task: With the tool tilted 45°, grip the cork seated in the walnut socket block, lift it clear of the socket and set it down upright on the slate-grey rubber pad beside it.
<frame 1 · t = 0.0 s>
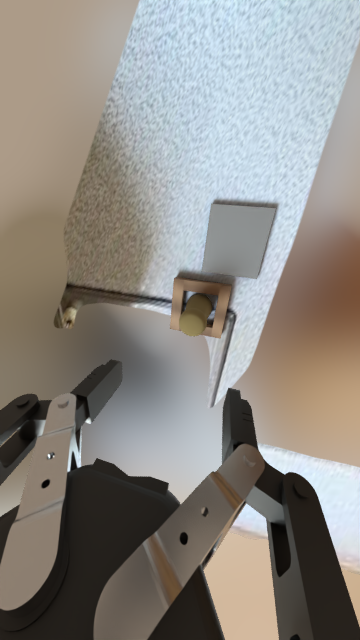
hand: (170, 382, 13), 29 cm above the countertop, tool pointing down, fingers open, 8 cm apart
cork: (199, 306, 41), resting in walnut socket
slate pad: (234, 243, 35), on the countertop
walnut socket: (199, 306, 41), on the countertop
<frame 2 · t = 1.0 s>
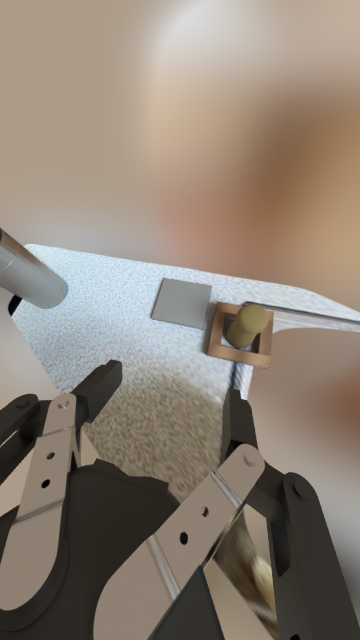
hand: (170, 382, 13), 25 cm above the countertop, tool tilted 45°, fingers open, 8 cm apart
cork: (239, 335, 39), resting in walnut socket
slate pad: (182, 303, 43), on the countertop
walnut socket: (239, 334, 39), on the countertop
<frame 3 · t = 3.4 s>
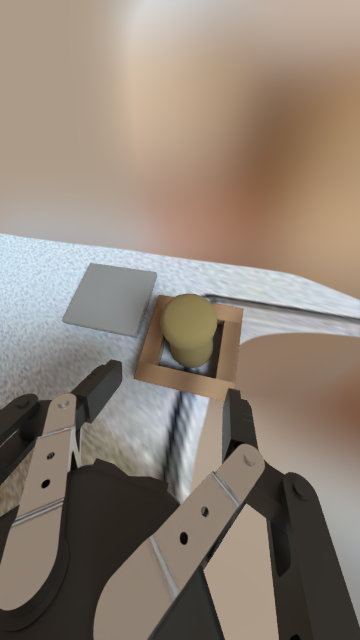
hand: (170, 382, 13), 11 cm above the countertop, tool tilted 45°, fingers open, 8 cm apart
cork: (191, 346, 25), resting in walnut socket
slate pad: (113, 298, 29), on the countertop
walnut socket: (191, 345, 25), on the countertop
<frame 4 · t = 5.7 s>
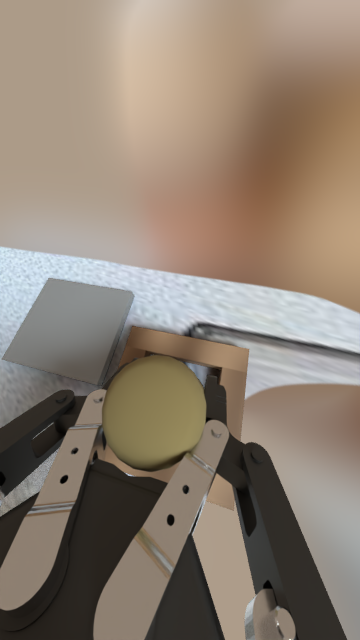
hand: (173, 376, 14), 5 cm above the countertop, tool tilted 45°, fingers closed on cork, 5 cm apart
cork: (176, 399, 18), resting in walnut socket, touching gripper
slate pad: (74, 326, 22), on the countertop
walnut socket: (175, 399, 18), on the countertop
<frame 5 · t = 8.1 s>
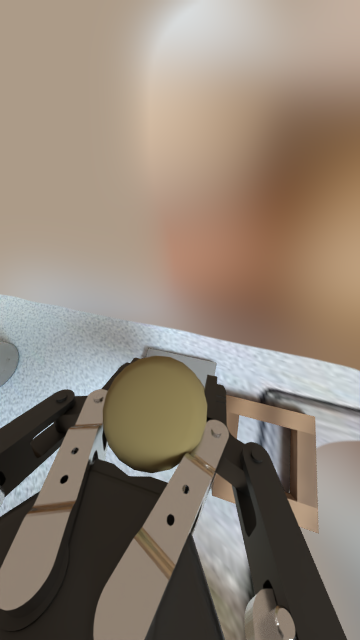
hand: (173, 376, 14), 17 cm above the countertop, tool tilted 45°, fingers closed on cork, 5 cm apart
cork: (177, 399, 18), point 12 cm above the countertop, touching gripper
slate pad: (174, 388, 30), on the countertop
walnut socket: (261, 450, 25), on the countertop
when the fingers open (7 cm above the countertop, at t = 10.8 s): cork drops 1 cm, resting on slate pad.
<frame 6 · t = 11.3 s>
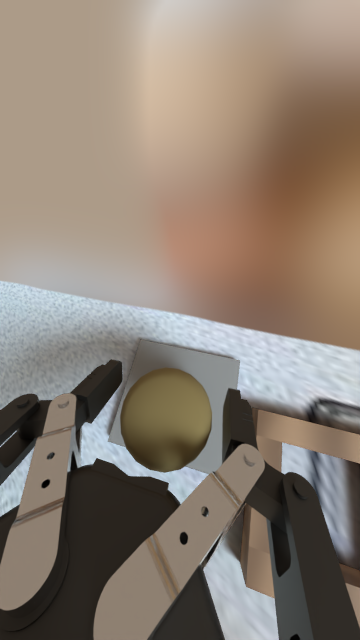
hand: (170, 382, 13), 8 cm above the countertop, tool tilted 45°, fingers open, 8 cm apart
cork: (180, 404, 19), point 1 cm above the countertop, touching slate pad
slate pad: (177, 398, 20), on the countertop
walnut socket: (316, 497, 16), on the countertop
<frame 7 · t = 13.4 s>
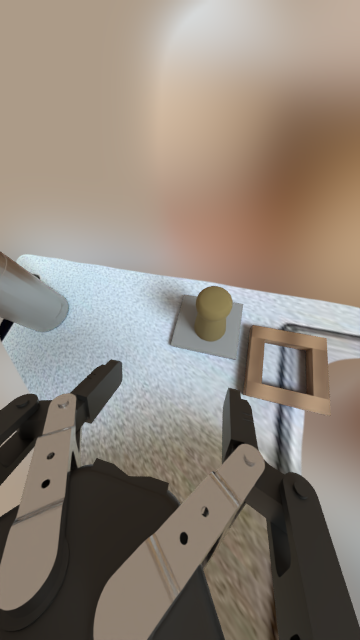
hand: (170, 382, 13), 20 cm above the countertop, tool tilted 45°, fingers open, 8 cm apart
cork: (209, 326, 34), point 1 cm above the countertop, touching slate pad
slate pad: (207, 325, 35), on the countertop
walnut socket: (282, 367, 31), on the countertop
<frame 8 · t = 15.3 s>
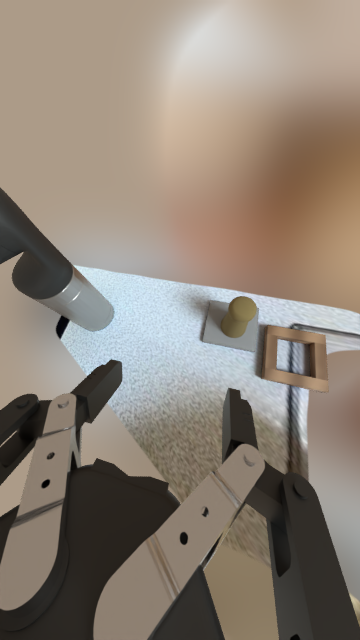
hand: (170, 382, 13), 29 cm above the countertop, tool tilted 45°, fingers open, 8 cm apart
cork: (233, 326, 43), point 1 cm above the countertop, touching slate pad
slate pad: (230, 325, 44), on the countertop
walnut socket: (291, 357, 40), on the countertop
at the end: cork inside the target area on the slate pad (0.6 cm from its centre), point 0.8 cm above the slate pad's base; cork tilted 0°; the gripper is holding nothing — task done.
